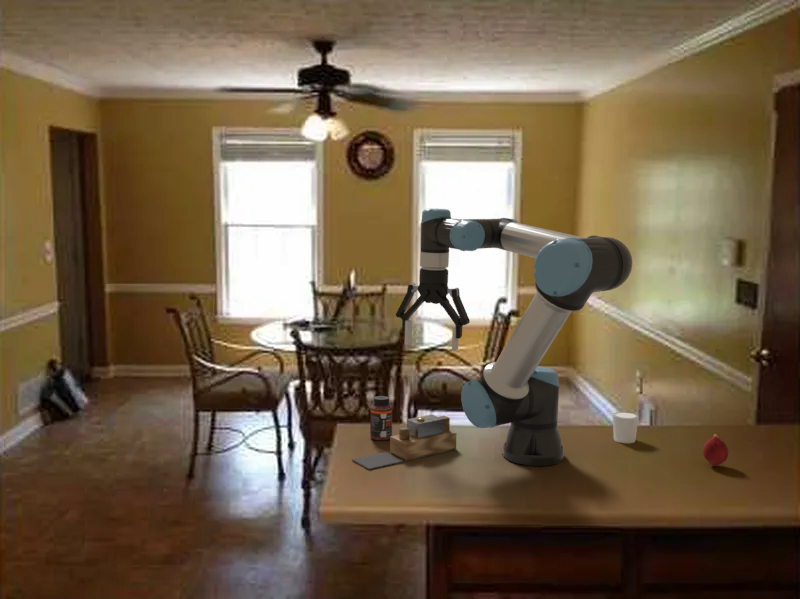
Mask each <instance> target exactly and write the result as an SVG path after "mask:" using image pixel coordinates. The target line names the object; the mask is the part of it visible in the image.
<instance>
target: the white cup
mask: <svg viewBox="0 0 800 599" xmlns="http://www.w3.org/2000/svg"><path fill="white" fill-rule="evenodd" d="M639 420H640V419H639V415H638V414H637V413H634V412H633V413H632V412H627V411H617V412H613V413H612V430H613V440H614V441H615V442H616V443H620V444H621V443H622V444H633V443H635V442H636V439H637V431H638V424H639Z"/></svg>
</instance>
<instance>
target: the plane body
mask: <svg viewBox="0 0 800 599" xmlns="http://www.w3.org/2000/svg"><path fill="white" fill-rule="evenodd" d="M439 417H440V418H442V419H444V422H443V434H441V435H437V436H432V437H427V438H422V439H416V438H414V437H412V436H410V429H409V428H407V426H406V427H405V426H404V427H400V428H399V429H398V432H399V434H396V435H395V434H394V435H392V436H390V439H389V443H390V444H389V447H390V448H389V449H390V450H389V454H391V453H392V454H391V455H393V454H394V455H393V456H395V457H397V458H399V459H401V460H403V461H404V462H407V461H406V460H408V461H412V460H416V459H415V458H417V459H421V458H425V457H430V456H434V455H437V453H439V454H442V453H441V452H443V453H447V452H451V451H450V450H452V451H455V449H456V450H457V432H456V431H453V430H450V423H451V422H450V420H451V419H450V417H449V416H446V415H441V416H439ZM446 451H447V452H446ZM433 454H434V455H433ZM429 455H430V456H429ZM424 456H425V457H424ZM420 457H421V458H420ZM411 459H412V460H411Z"/></svg>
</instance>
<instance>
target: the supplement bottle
mask: <svg viewBox="0 0 800 599" xmlns="http://www.w3.org/2000/svg"><path fill="white" fill-rule="evenodd" d="M389 402H390V397H388V396H385V395H378V396H374V398H373V404H371V406H370V429H369V430H370V432H369V433H370V436H369V437H370V438H371V439H372V440H374V441H383V442H384V441H387V440H390V436H393V406H392V405H391V404H390V403H389Z"/></svg>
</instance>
